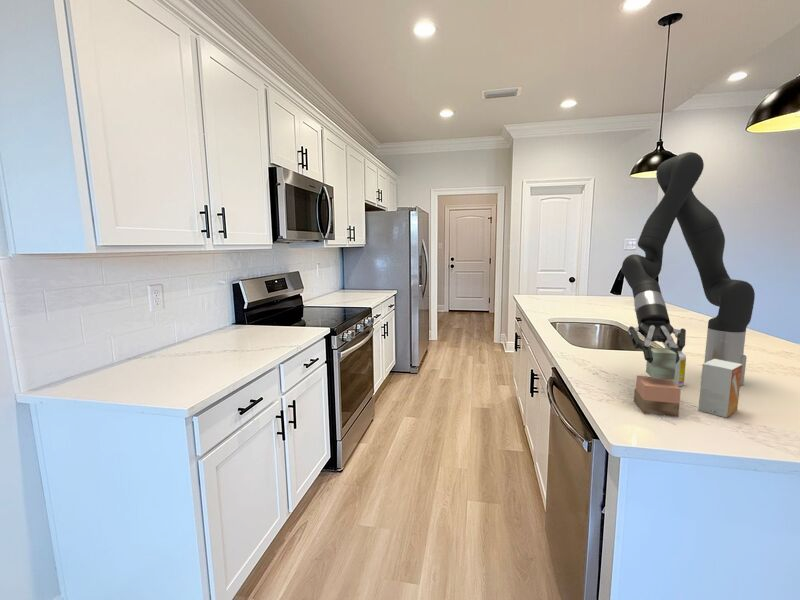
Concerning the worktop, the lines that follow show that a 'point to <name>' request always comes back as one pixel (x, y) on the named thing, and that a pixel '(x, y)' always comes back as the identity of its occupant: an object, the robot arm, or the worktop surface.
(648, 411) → the tower base block
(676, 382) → the supplement bottle
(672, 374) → the green block
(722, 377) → the small box
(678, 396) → the tower top block
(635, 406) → the butter knife
